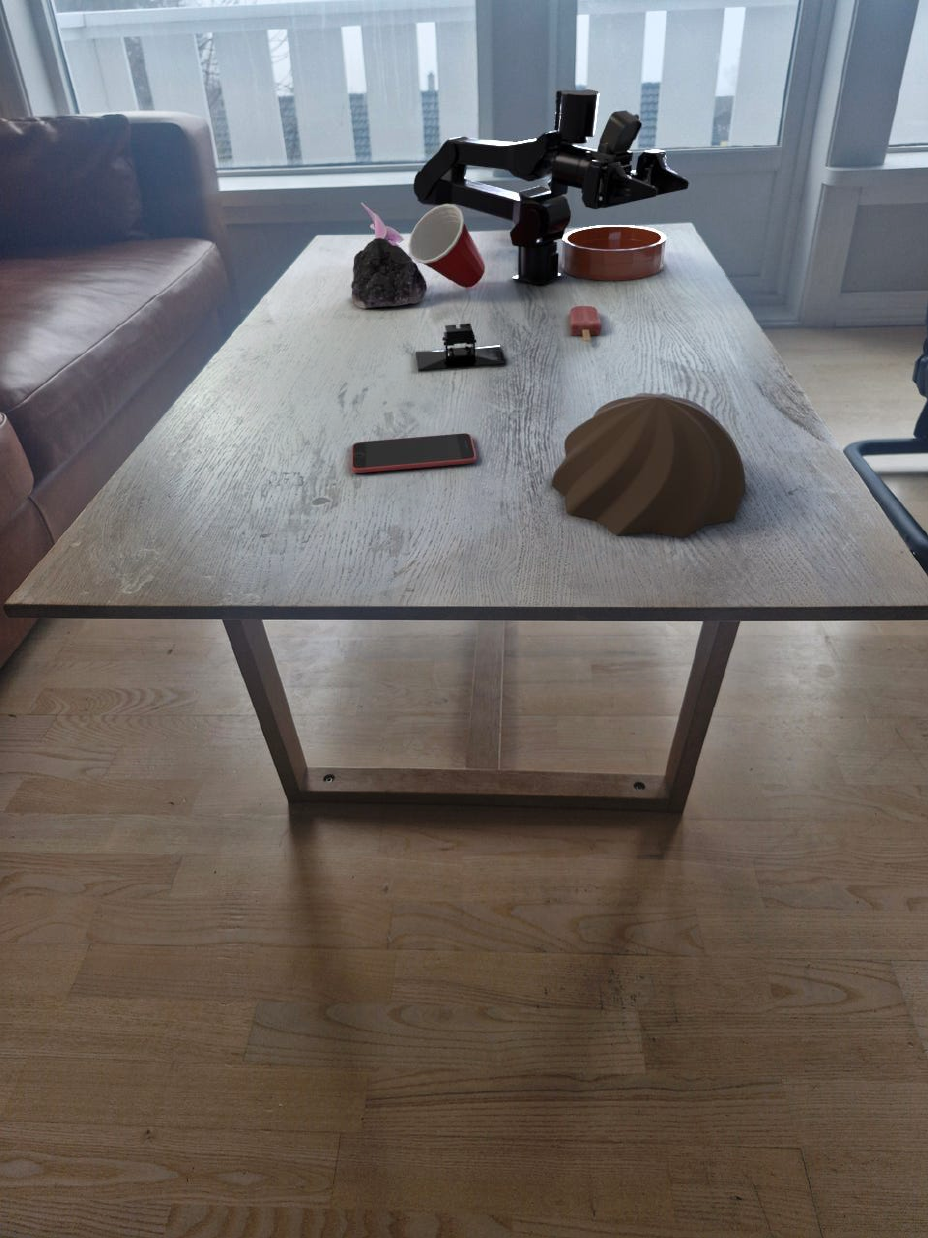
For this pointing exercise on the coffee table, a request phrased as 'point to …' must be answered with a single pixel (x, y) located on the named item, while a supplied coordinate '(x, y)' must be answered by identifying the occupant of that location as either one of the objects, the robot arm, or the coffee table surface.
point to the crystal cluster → (385, 276)
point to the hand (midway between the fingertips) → (672, 188)
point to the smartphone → (412, 453)
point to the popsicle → (584, 321)
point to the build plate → (459, 352)
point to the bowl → (613, 252)
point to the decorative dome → (651, 467)
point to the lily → (384, 229)
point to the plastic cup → (447, 246)
